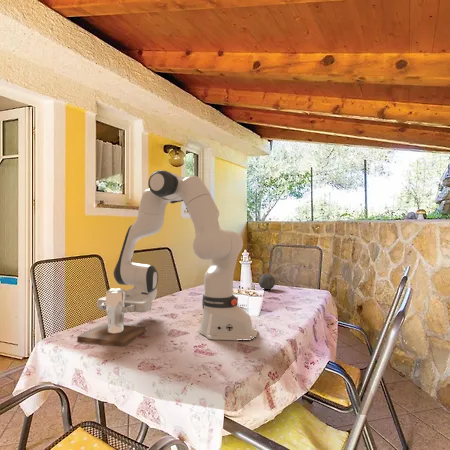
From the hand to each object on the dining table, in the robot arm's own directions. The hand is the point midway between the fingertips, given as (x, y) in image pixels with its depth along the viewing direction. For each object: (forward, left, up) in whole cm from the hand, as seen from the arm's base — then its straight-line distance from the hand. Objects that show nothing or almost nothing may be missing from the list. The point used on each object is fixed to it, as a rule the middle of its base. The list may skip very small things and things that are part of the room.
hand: (112, 309), depth 121 cm
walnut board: (0, -1, -10) cm, 10 cm away
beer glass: (-1, -1, -9) cm, 9 cm away
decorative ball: (-44, -101, -10) cm, 111 cm away
